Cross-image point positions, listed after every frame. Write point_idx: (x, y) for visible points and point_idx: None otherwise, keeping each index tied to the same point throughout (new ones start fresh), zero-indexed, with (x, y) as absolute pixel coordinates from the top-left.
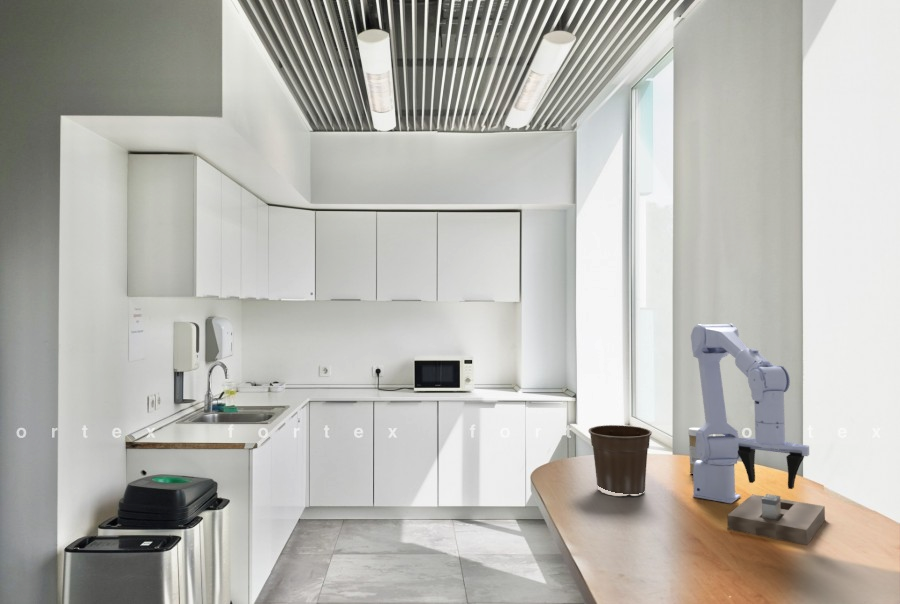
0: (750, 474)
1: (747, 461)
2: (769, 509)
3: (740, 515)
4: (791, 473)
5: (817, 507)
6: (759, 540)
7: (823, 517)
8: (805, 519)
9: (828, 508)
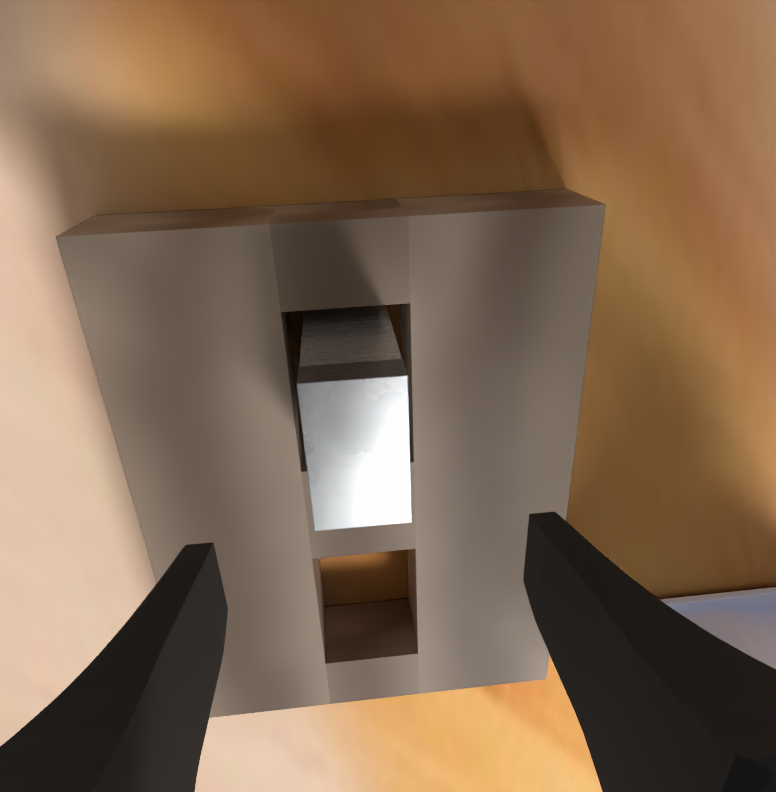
0: (573, 558)
1: (676, 661)
2: (343, 348)
3: (523, 261)
4: (120, 660)
5: None
6: (346, 98)
7: None
8: (168, 458)
9: (256, 781)
